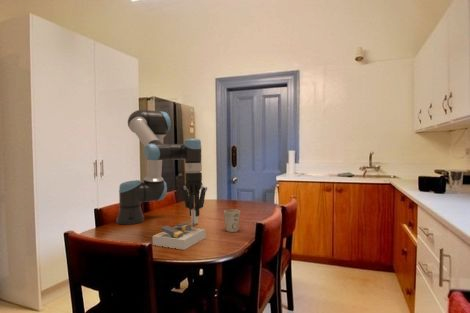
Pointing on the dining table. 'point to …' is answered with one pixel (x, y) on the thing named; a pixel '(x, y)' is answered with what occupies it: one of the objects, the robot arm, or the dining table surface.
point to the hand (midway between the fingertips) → (194, 223)
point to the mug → (232, 219)
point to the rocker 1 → (172, 231)
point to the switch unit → (182, 242)
